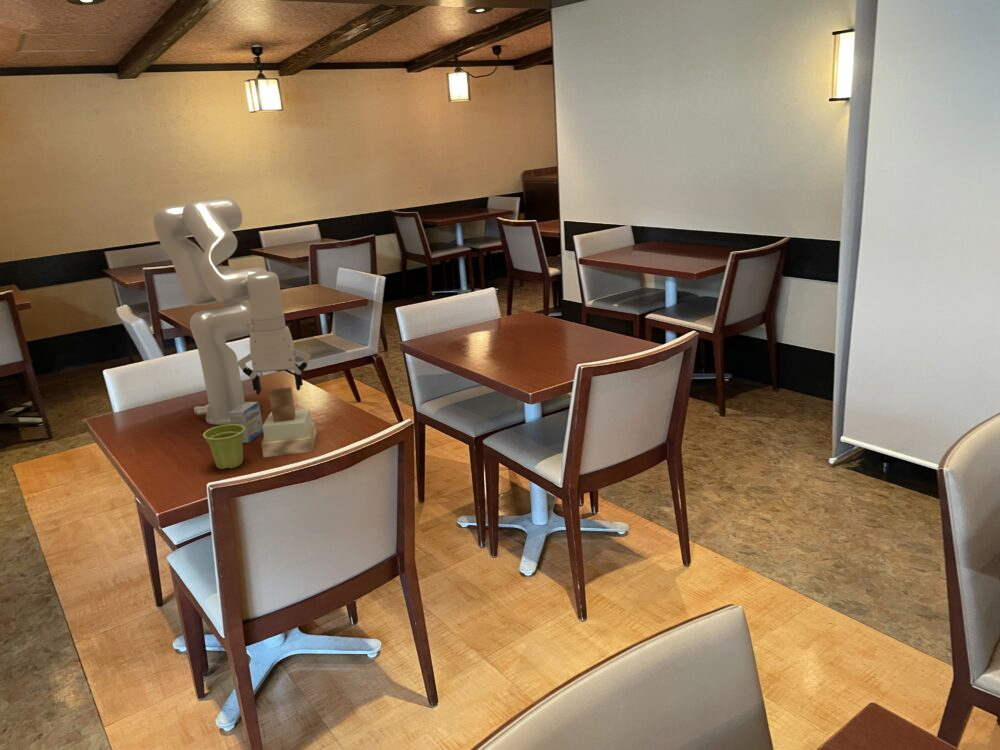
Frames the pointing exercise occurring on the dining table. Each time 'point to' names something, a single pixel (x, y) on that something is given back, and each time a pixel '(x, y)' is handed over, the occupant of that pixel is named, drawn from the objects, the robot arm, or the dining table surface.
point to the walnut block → (282, 404)
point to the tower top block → (288, 427)
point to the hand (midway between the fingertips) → (278, 390)
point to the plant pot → (226, 445)
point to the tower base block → (290, 445)
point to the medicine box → (248, 420)
